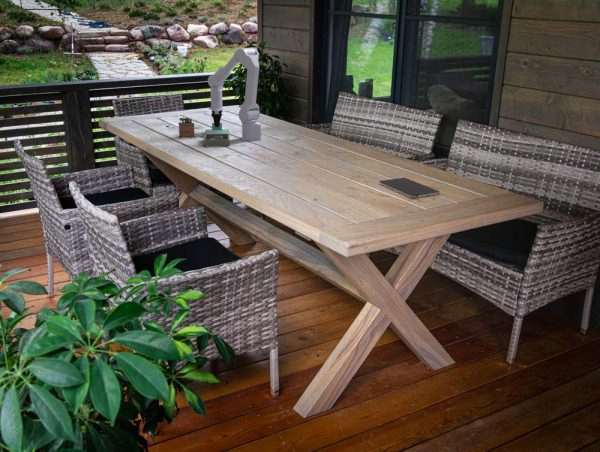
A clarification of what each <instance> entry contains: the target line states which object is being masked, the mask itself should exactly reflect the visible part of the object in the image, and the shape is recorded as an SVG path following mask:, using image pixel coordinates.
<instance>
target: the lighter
mask: <svg viewBox="0 0 600 452" xmlns="http://www.w3.org/2000/svg"><path fill="white" fill-rule="evenodd" d="M179 121H180V122H178V134H179V135H178V137H179V138H186V139H187V138H188V139H189V138H190V139H192V138H193V139H194V138H196V136H195V134H196V133H195V122H193V119H192V118H189V117H186V118H185V117H180V118H179Z"/></svg>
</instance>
